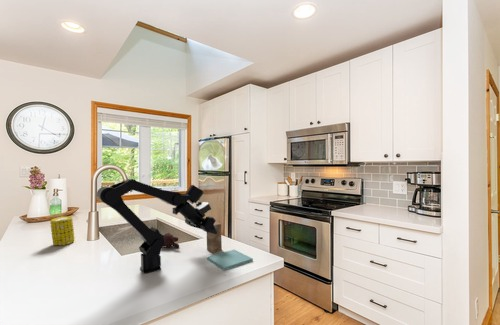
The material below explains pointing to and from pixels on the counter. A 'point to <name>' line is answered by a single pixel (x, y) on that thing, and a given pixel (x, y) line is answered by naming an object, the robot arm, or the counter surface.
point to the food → (62, 230)
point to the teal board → (229, 259)
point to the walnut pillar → (214, 239)
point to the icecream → (170, 240)
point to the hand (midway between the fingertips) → (211, 231)
